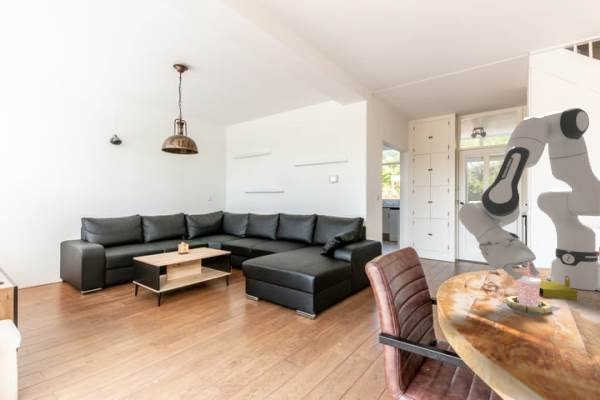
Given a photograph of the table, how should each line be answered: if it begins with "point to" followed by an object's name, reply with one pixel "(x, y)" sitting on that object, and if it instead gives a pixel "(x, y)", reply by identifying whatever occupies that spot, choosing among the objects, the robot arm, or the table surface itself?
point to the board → (523, 311)
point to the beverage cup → (528, 290)
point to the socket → (543, 309)
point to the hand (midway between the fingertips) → (528, 276)
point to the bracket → (558, 289)
